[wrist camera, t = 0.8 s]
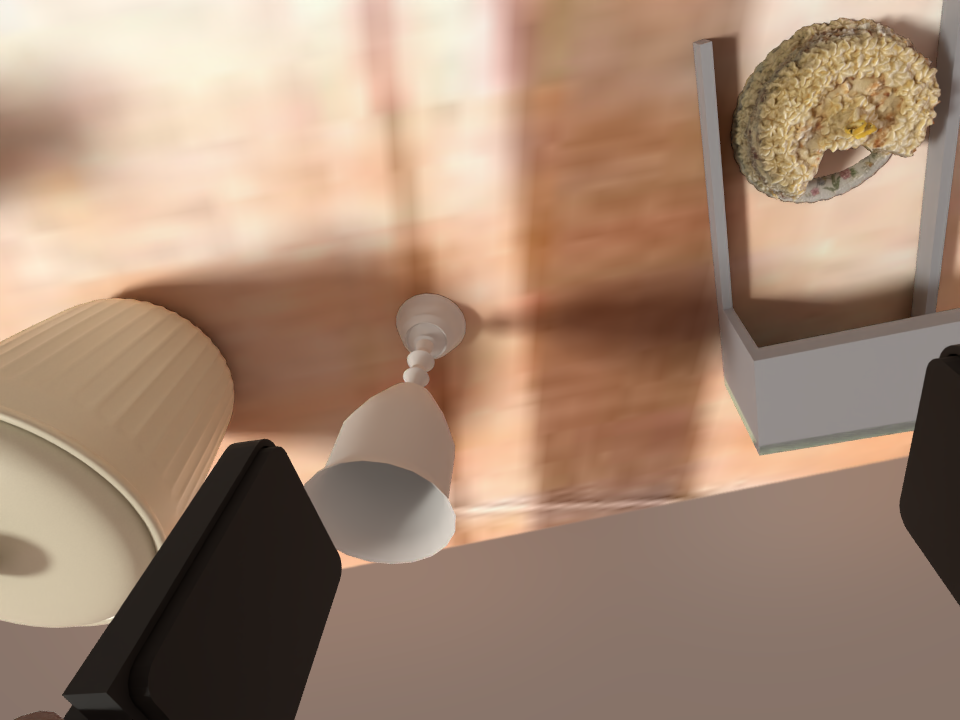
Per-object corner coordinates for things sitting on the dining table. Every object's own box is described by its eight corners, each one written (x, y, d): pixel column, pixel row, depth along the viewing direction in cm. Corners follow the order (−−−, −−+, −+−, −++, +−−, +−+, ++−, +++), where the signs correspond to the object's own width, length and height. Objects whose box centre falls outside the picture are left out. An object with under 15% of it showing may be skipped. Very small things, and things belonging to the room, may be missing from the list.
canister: (307, 438, 49) (184, 695, 31) (119, 462, 52) (-90, 709, 34) (210, 235, 40) (-45, 439, 22) (-13, 279, 43) (-393, 490, 25)
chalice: (491, 295, 41) (470, 480, 26) (470, 373, 44) (441, 576, 29) (387, 271, 40) (303, 445, 25) (375, 352, 44) (295, 546, 29)
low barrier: (693, 42, 32) (735, 58, 25) (960, -41, 29) (1085, -47, 22) (724, 384, 43) (759, 455, 37) (917, 348, 41) (990, 418, 34)
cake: (701, 81, 33) (727, 87, 29) (890, -29, 30) (955, -42, 25) (760, 231, 37) (792, 258, 32) (934, 147, 34) (998, 164, 29)
